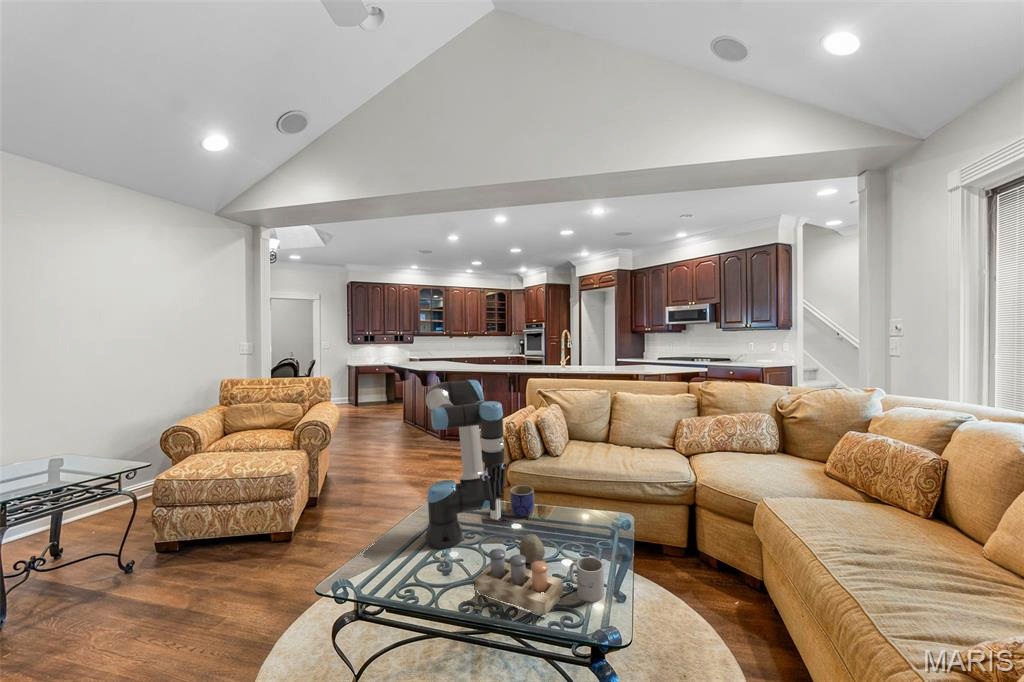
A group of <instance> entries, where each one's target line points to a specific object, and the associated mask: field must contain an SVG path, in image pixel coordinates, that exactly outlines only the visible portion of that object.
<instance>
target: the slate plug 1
mask: <svg viewBox="0 0 1024 682" xmlns="http://www.w3.org/2000/svg"><path fill="white" fill-rule="evenodd" d="M488 553H489V555H488V557H489V558H490V565H491V575H492V576H494V577H501V576H503V575H504V574H505V562H506V561H505V557H506V551H505V550H503V548H495V549H492V550H490V551H489V552H488Z"/></svg>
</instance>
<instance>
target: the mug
mask: <svg viewBox="0 0 1024 682" xmlns="http://www.w3.org/2000/svg"><path fill="white" fill-rule="evenodd" d="M574 566H576V577H575V575H574ZM604 569H605V568H604V563H603V561H602V560H600V559H599V558H597V557H593V556H584V557H581V558H579V559H578V560H577V561H573V562H571V563H570V566H569V577H570V578H571V581H572V582H573V583H574V584H576V587H577V596H578V598H580V599H581V600H583V601H584V602H587V601H590V603H597V602H600V601H601V600H603V599H604V597H605V580H604V579H605V574H604V573H605V572H604Z"/></svg>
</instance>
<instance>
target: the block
mask: <svg viewBox="0 0 1024 682" xmlns="http://www.w3.org/2000/svg"><path fill="white" fill-rule="evenodd" d="M525 572H526V581H525V582H524V583H525V584H524V583H522V584H515V583H513V582H512V581H511V564H510V562H506V561H505V574H504V575H503V576H501V577H494V576H492V575H491V564H490V565H488V566H487V567H486V568H485V569H484V570H483V571H482V572H481V573H479V575H477V576H476V577H475V578H474V586H475V587H474V588H475V594H476V595H478V594H477V590H480V591H481V593H483V594H484V595H486V596H488V597H491V598H494V599H497V600H499V601H503V602H506V603H510V604H513V605H516V606H519V607H522V608H524V609H527V610H530V611H535V612H539V613H542V614H544V615H546V614H547V613H548V612H549V611H550V610H551V608H552V607H553V606H554V605H555V604H556V603H557V604H558V603H559V601H560V600H561V598H562V597H563V596H562V595H564V580H563V579H561V578H558V577H554V576H551V575H549V574H547V585H548V587H547V589H546V590H544V591H536V590H534V589H533V585H532V570H531V569H529V568H526V567H525ZM541 592H544V593H545V594H544V595H543V594H541ZM561 596H562V597H561ZM560 597H561V598H560ZM557 604H556V605H557ZM556 605H555V606H556ZM555 606H554V607H555Z"/></svg>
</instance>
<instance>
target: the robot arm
mask: <svg viewBox="0 0 1024 682" xmlns="http://www.w3.org/2000/svg"><path fill="white" fill-rule="evenodd" d="M424 399H425V400H424V401H425V404H426V406H427V407H428V409H429V410H430V419H431V420H430V421H431V427H432V428H433V430H438V431H439V430H448V429H455V428H456V429H457V428H458V431H459V432H458V433H459V444H460V455H461V465H462V467H461V468H462V474H461V476H460V477H459V483H457V482H456V481H455V480H454V479H442V480H440V481H437V482H435V483H432V484H431V485H430V486H429V488H428V489H427V499H426V501H427V507H428V510H427V511H428V525H427V529H426V533H425V544H426V543H427V544H428V545H427V544H426V545H427V546H428V547H429V548H432V549H440V550H441V549H448V548H452V547H455V546H457V545H458V544H460V543H461V542H462V540H463V539H464V538H463V537H464V536H463V530H462V527H461V525H460V522H459V519H458V514H462V513H468V512H469V513H470V512H473V511H482V510H485V509H488V508H489V513H490V519H492V520H497V521H498V520H499V519H500V518H501V516H502V514H501V512H502V511H501V499H503V498H504V495H503V494H504V493H505V482H506V471H507V467H508V465H507V463H503V462H504V461H505V449H504V448H505V444H504V443H505V442H504V412H503V411H504V410H503V406H502V403H501V402H499V401H496V400H495V401H492V400H491V401H490V400H489V401H486V400H485V398H484V392H483V389H482V385H481V384H480V382H479V381H478V380H476V379H466V380H455V381H443V382H440V383H437V384H435V385H434V386H432V387H431V388H430V389H428V391H427V393H426V394H425V398H424ZM483 463H484V465H483Z"/></svg>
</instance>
